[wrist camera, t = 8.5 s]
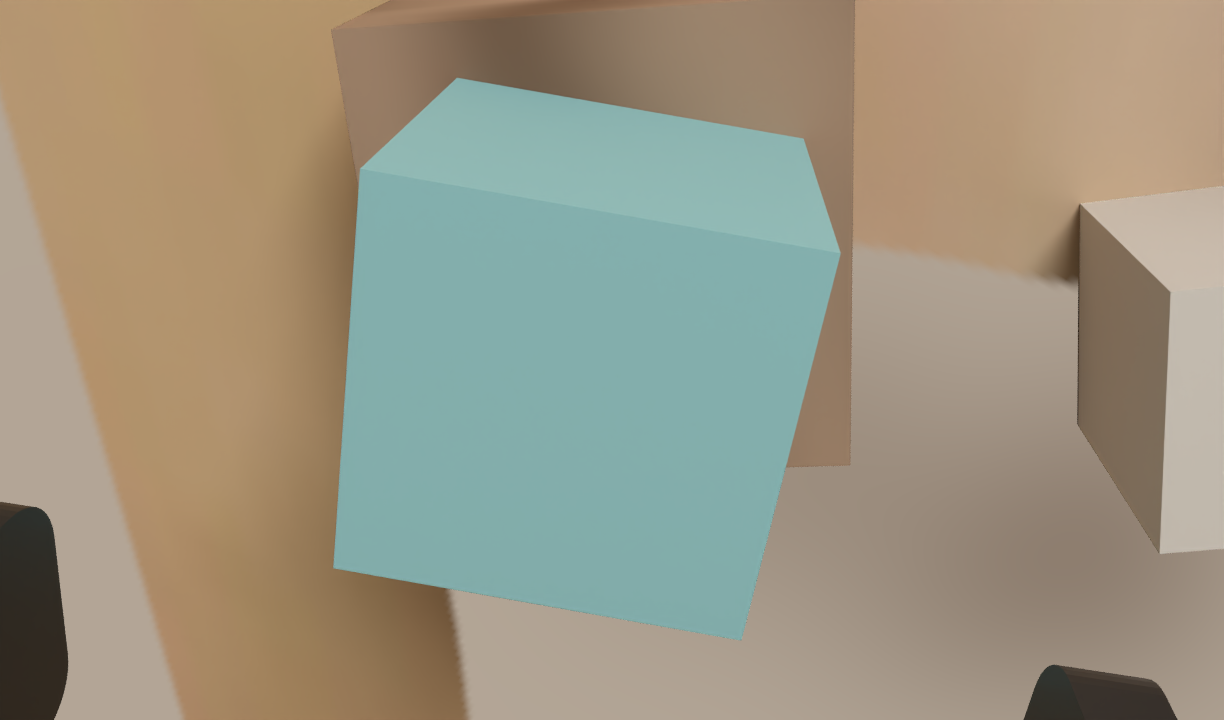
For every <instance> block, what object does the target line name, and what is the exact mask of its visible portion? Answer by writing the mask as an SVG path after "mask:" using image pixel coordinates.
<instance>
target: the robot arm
mask: <svg viewBox="0 0 1224 720" xmlns="http://www.w3.org/2000/svg"><path fill="white" fill-rule="evenodd" d="M61 600H62V599H61V591H60V583H59V573H58V565H57V556H56V548H55V539H54V532H53V527H52V525H51V521H50V519H49V517H48V516H47V514H46V513H45V512H44V511H43V510H41V509H39V508H37V507H31V506H24V505H17V504H11V503H4V502H0V720H54V718H55V716H56V714H57V711H58V709H59V706H60V703H61V700H62V697H63V694H64V690H65V685H66V680H67V673H68V652H67V643H66V635H65V626H64V617H63V609H62V601H61ZM1024 720H1177V718H1176V716H1175V714H1174V712H1173V710H1172V708H1171V706H1170V704H1169V702H1168V700H1167V698H1166V696H1165V694H1164V693H1163V691H1162V689H1161V688H1160V687H1159V686H1158V685H1157V683H1155V682H1154V681H1152V680H1149V679H1144V678H1138V677H1131V676H1124V675H1118V674H1111V673H1105V672H1098V671H1092V670H1085V669H1078V668H1072V667H1065V666H1059V665H1051V666H1049V667H1047V668H1046V669H1045V670H1044V671H1043V673H1042V674H1041V675H1040V677H1039V679H1038V681H1037V684H1036V686H1035V688H1034V692H1033V694H1032V697H1031V700H1030V703H1029V706H1028V709H1027V712H1026V715H1025V718H1024Z"/></svg>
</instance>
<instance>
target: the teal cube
mask: <svg viewBox="0 0 1224 720" xmlns="http://www.w3.org/2000/svg"><path fill="white" fill-rule="evenodd" d="M840 254H841V253H840V250H839V246H838V243H837V240H836V237H835V234H834V231H833V228H832V225H831V222H830V219H829V216H828V213H827V209H826V206H825V203H824V200H823V197H822V194H821V191H820V188H819V185H818V182H817V179H816V176H815V172H814V169H813V166H812V163H811V160H810V157H809V154H808V151H807V148H806V145H805V142H804V139H803V138H797V137H792V136H786V135H780V134H775V133H769V132H763V131H758V130H752V129H746V128H740V127H735V126H729V125H723V124H718V123H712V122H706V121H701V120H695V119H689V118H684V117H678V116H672V115H666V114H661V113H655V112H649V111H644V110H638V109H632V108H627V107H621V106H615V105H609V104H604V103H598V102H592V101H587V100H581V99H575V98H570V97H564V96H558V95H553V94H547V93H541V92H535V91H530V90H524V89H518V88H513V87H507V86H501V85H496V84H490V83H484V82H478V81H473V80H467V79H461V78H456V79H455V80H454V81H453V82H452V83H451V84H450V85H449V86H448V87H447V88H446V89H445V90H443V91H442V92H441V93H440V94H439V95H438V96H437V97H436V98H435V99H434V100H433V101H432V102H431V103H430V104H429V105H428V106H426V107H425V108H424V109H423V110H422V111H421V112H420V113H419V114H418V115H417V116H416V117H415V118H414V119H413V120H412V121H410V122H409V123H408V124H407V125H406V126H405V127H404V128H403V129H402V130H401V131H400V132H399V133H398V134H397V135H396V136H394V137H393V138H392V139H391V140H390V141H389V142H388V143H387V144H386V145H385V146H384V147H383V148H382V149H381V150H380V151H378V152H377V153H376V154H375V155H374V156H373V157H372V158H371V159H370V160H369V161H368V162H367V163H366V164H365V165H364V166H362V167H361V168H360V177H359V192H358V207H357V222H356V237H355V252H354V267H353V282H352V297H351V312H350V327H349V342H348V357H347V372H346V387H345V402H344V417H343V432H342V447H341V462H340V477H339V492H338V507H337V522H336V537H335V552H334V567H333V568H335V569H341V570H346V571H352V572H358V573H363V574H369V575H375V576H380V577H386V578H391V579H397V580H403V581H408V582H414V583H420V584H425V585H431V586H437V587H442V588H448V589H454V590H460V591H465V592H470V593H476V594H482V595H487V596H493V597H499V598H505V599H510V600H516V601H521V602H527V603H533V604H538V605H544V606H550V607H555V608H561V609H567V610H572V611H578V612H583V613H589V614H595V615H600V616H607V617H612V618H617V619H623V620H628V621H634V622H640V623H646V624H651V625H657V626H663V627H668V628H674V629H680V630H685V631H690V632H696V633H702V634H708V635H713V636H719V637H724V638H731V639H736V640H742V636H743V632H744V628H745V624H746V620H747V616H748V612H749V609H750V605H751V601H752V597H753V593H754V589H755V585H756V581H757V577H758V574H759V570H760V566H761V562H762V558H763V554H764V550H765V546H766V542H767V539H768V535H769V531H770V527H771V523H772V518H773V515H774V511H775V507H776V503H777V500H778V495H779V492H780V488H781V484H782V480H783V476H784V472H785V468H786V464H787V461H788V457H789V453H790V449H791V445H792V441H793V437H794V433H795V429H796V426H797V422H798V418H799V414H800V410H801V406H802V402H803V398H804V394H805V390H806V387H807V383H808V379H809V375H810V371H811V367H812V363H813V359H814V355H815V352H816V348H817V344H818V340H819V336H820V332H821V328H822V324H823V320H824V316H825V313H826V309H827V305H828V301H829V297H830V293H831V289H832V285H833V281H834V278H835V274H836V270H837V266H838V262H839V258H840Z"/></svg>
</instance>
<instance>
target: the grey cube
mask: <svg viewBox="0 0 1224 720" xmlns="http://www.w3.org/2000/svg"><path fill="white" fill-rule="evenodd" d="M1077 389H1078V390H1077V394H1078V395H1077V396H1078V397H1077V424H1078V426H1079V427H1080V429H1081V430H1082V432H1083V434H1084V435H1085V437H1086V438H1087V440H1088V442H1089V443H1090V445H1091V446H1092V448H1093V450H1094V451H1095V453H1096V454H1097V456H1098V457H1099V459H1100V461H1101V462H1102V464H1103V465H1104V467H1105V469H1106V470H1107V472H1108V473H1109V475H1110V476H1111V478H1112V480H1113V481H1114V483H1115V484H1116V486H1117V487H1118V489H1119V491H1120V492H1121V494H1122V495H1123V497H1124V499H1125V500H1126V502H1127V503H1128V505H1129V506H1130V508H1131V510H1132V511H1133V513H1134V514H1135V516H1136V518H1137V519H1138V521H1139V522H1140V524H1141V525H1142V527H1143V529H1144V530H1145V532H1146V533H1147V535H1148V537H1149V538H1150V540H1151V541H1152V543H1153V544H1154V546H1155V548H1156V549H1157V551H1158V552H1159V554H1168V553H1180V552H1192V551H1205V550H1217V549H1224V186H1219V187H1211V188H1203V189H1194V190H1186V191H1178V192H1170V193H1162V194H1154V195H1146V196H1138V197H1130V198H1121V199H1113V200H1105V201H1097V202H1089V203H1081V204H1080V277H1079V285H1078V388H1077Z"/></svg>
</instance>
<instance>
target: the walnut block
mask: <svg viewBox="0 0 1224 720" xmlns="http://www.w3.org/2000/svg"><path fill="white" fill-rule="evenodd" d="M854 29H855V0H390V1H388V2H386V3H384V4H382V5H380V6H378V7H376V8H374V9H372V10H370V11H368V12H366V13H364V14H362V15H360V16H358V17H356V18H354V19H352V20H350V21H348V22H346V23H344V24H342V25H339V26H337V27H335V28H333V29H331V32H332V38H333V43H334V49H335V55H336V61H337V67H338V73H339V79H340V84H341V90H342V96H343V102H344V108H345V114H346V120H347V125H348V131H349V137H350V143H351V149H352V155H353V160H354V166H355V172H356V178H357V184H358V190H359V177H360V168H361V167H362V166H364V165H365V164H366V163H367V162H368V161H369V160H370V159H371V158H372V157H373V156H374V155H375V154H376V153H377V152H378V151H380V150H381V149H382V148H383V147H384V146H385V145H386V144H387V143H388V142H389V141H390V140H391V139H392V138H393V137H394V136H396V135H397V134H398V133H399V132H400V131H401V130H402V129H403V128H404V127H405V126H406V125H407V124H408V123H409V122H410V121H412V120H413V119H414V118H415V117H416V116H417V115H418V114H419V113H420V112H421V111H422V110H423V109H424V108H425V107H426V106H428V105H429V104H430V103H431V102H432V101H433V100H434V99H435V98H436V97H437V96H438V95H439V94H440V93H441V92H442V91H443V90H445V89H446V88H447V87H448V86H449V85H450V84H451V83H452V82H453V81H454V80H455V79H456V78H461V79H467V80H473V81H478V82H484V83H490V84H496V85H501V86H507V87H513V88H518V89H524V90H530V91H535V92H541V93H547V94H553V95H558V96H564V97H570V98H575V99H581V100H587V101H592V102H598V103H604V104H609V105H615V106H621V107H627V108H632V109H638V110H644V111H649V112H655V113H661V114H666V115H672V116H678V117H684V118H689V119H695V120H701V121H706V122H712V123H718V124H723V125H729V126H735V127H740V128H746V129H752V130H758V131H763V132H769V133H775V134H780V135H786V136H792V137H797V138H803V139H804V142H805V145H806V148H807V151H808V154H809V157H810V160H811V163H812V166H813V169H814V172H815V176H816V179H817V182H818V185H819V188H820V191H821V194H822V197H823V200H824V203H825V206H826V209H827V213H828V216H829V219H830V222H831V225H832V228H833V231H834V234H835V237H836V240H837V243H838V246H839V250H840V253H841V254H840V258H839V262H838V266H837V270H836V274H835V278H834V281H833V285H832V289H831V293H830V297H829V301H828V305H827V309H826V313H825V316H824V320H823V324H822V328H821V332H820V336H819V340H818V344H817V348H816V352H815V355H814V359H813V363H812V367H811V371H810V375H809V379H808V383H807V387H806V390H805V394H804V398H803V402H802V406H801V410H800V414H799V418H798V422H797V426H796V429H795V433H794V437H793V441H792V445H791V449H790V453H789V457H788V461H787V464H786V467H808V466H841V465H842V466H843V465H844V466H845V465H850V443H851V340H852V336H851V335H852V331H851V330H852V236H853V133H854Z"/></svg>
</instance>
